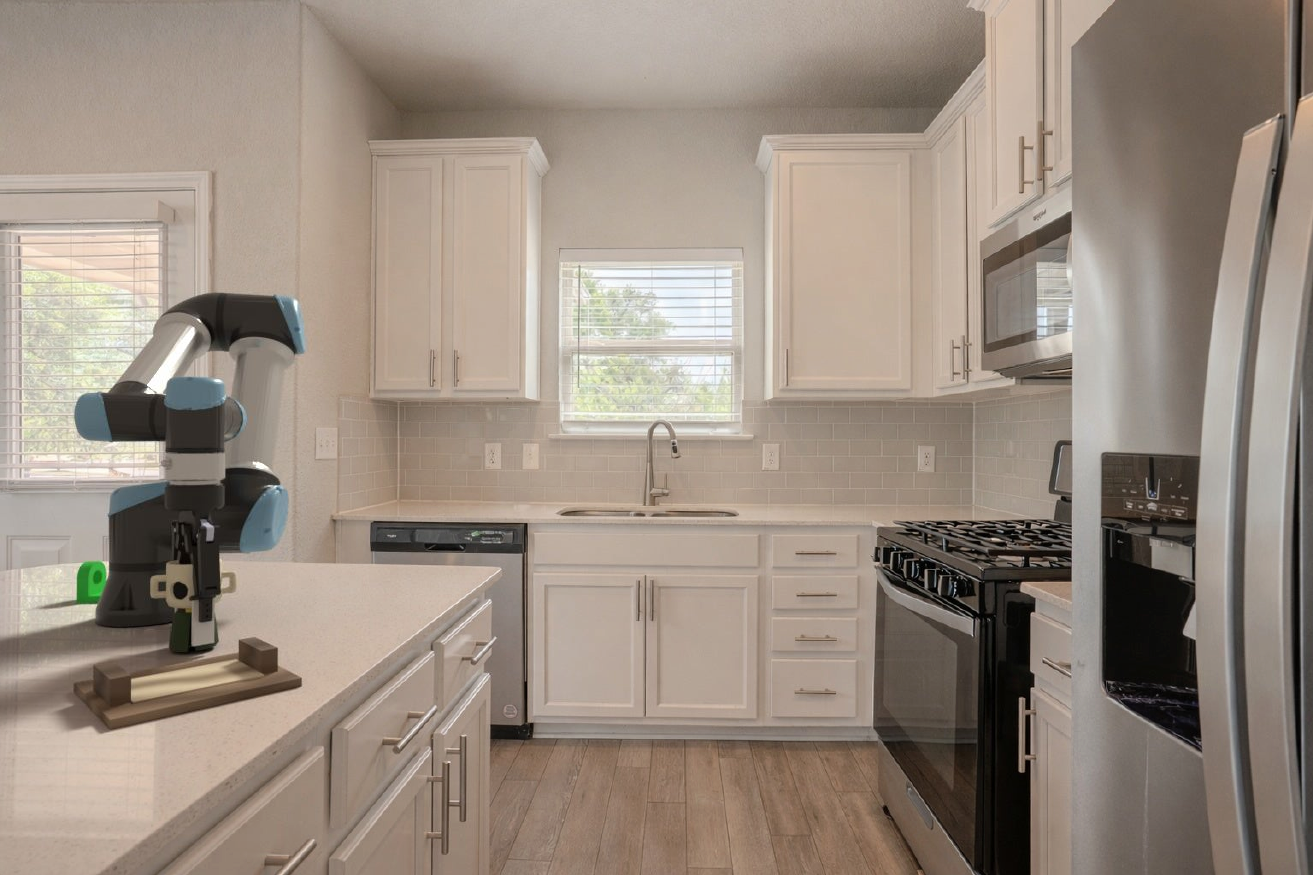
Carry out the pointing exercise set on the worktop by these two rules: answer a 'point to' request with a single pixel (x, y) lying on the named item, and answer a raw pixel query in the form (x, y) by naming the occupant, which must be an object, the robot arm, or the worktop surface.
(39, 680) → the worktop surface
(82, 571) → the mechanical part
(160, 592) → the character mug
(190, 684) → the seating jig
